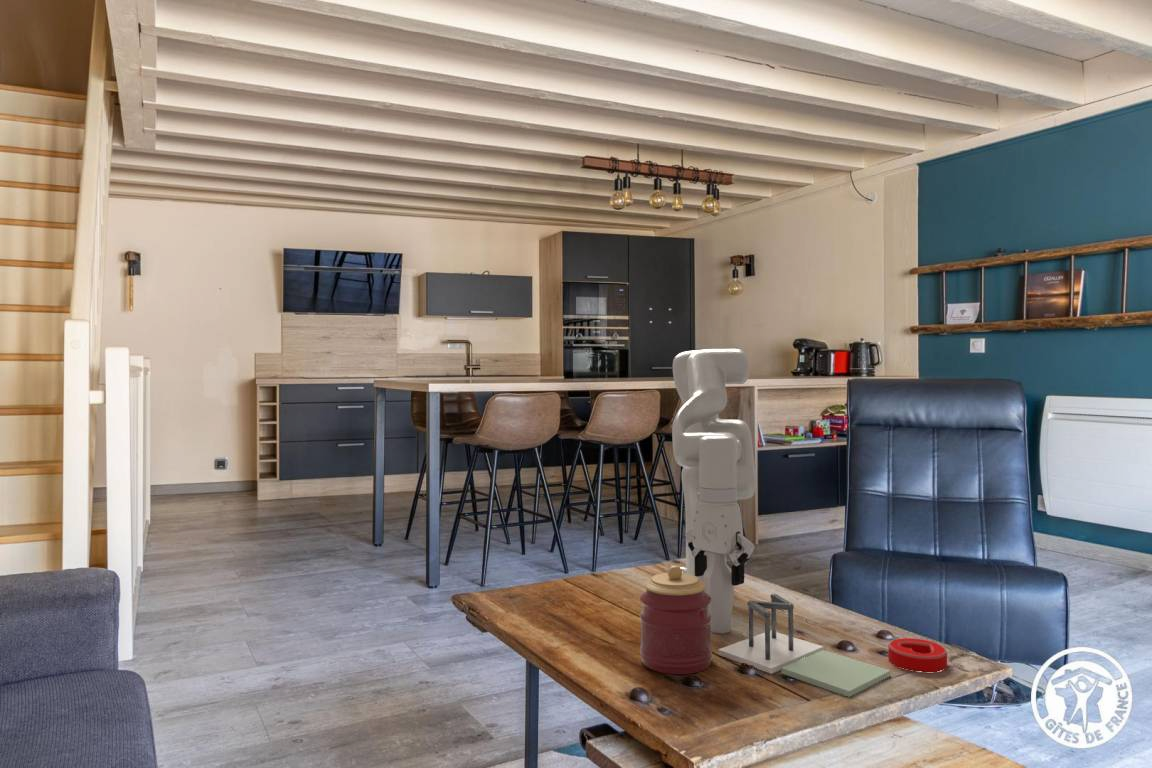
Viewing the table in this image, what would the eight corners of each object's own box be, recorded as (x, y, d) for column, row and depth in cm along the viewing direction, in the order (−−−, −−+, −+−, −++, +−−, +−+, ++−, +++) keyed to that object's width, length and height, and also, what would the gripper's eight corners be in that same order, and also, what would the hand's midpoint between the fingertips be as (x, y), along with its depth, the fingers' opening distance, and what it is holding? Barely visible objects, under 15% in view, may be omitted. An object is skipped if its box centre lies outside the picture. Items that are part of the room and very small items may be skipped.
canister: (628, 655, 143) (627, 561, 143) (688, 645, 148) (687, 554, 148) (661, 680, 131) (660, 578, 131) (725, 669, 136) (725, 570, 136)
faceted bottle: (738, 634, 154) (737, 525, 154) (707, 635, 153) (706, 526, 153) (730, 623, 160) (729, 519, 160) (700, 625, 160) (699, 519, 159)
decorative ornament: (954, 663, 138) (954, 646, 138) (935, 679, 131) (935, 660, 131) (900, 650, 145) (900, 633, 145) (879, 664, 138) (879, 647, 138)
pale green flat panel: (781, 673, 134) (781, 667, 134) (823, 655, 142) (823, 649, 142) (849, 697, 124) (849, 691, 124) (890, 676, 132) (890, 670, 132)
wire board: (718, 654, 143) (718, 649, 143) (770, 635, 153) (770, 630, 153) (771, 673, 134) (771, 668, 134) (823, 651, 144) (823, 646, 144)
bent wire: (736, 649, 143) (736, 603, 142) (773, 636, 150) (772, 592, 150) (768, 660, 137) (768, 613, 137) (805, 646, 144) (804, 600, 144)
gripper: (674, 493, 161) (675, 575, 161) (740, 502, 147) (741, 591, 147) (698, 490, 165) (699, 569, 165) (764, 498, 152) (765, 584, 152)
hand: (719, 579), depth 156 cm, fingers open, 9 cm apart
